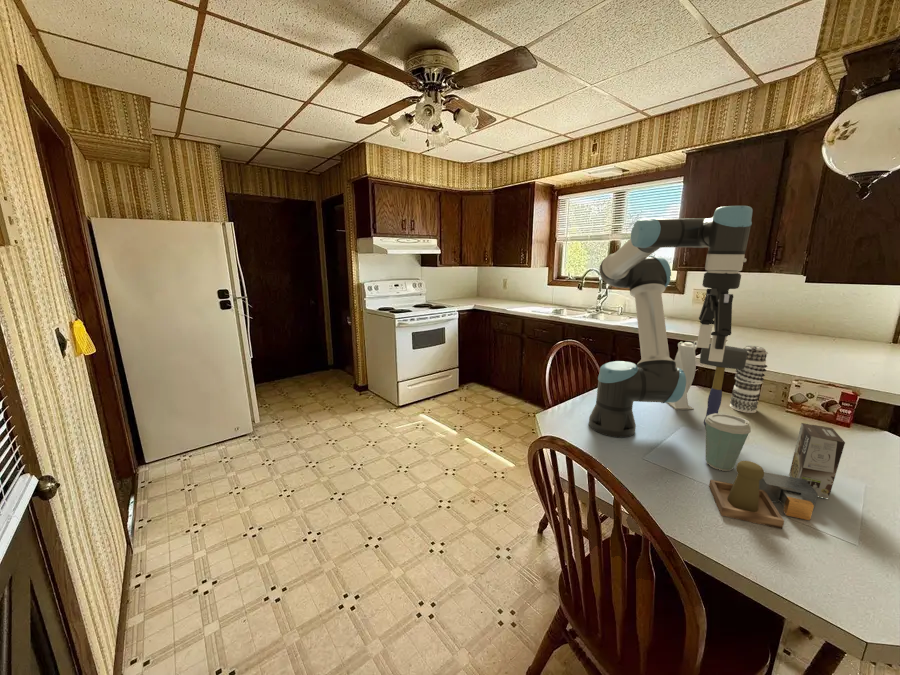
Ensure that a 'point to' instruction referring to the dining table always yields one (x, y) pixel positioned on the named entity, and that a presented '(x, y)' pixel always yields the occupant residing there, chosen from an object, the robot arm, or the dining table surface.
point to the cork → (746, 486)
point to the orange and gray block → (795, 505)
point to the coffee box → (817, 457)
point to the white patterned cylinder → (749, 380)
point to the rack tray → (763, 516)
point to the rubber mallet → (721, 373)
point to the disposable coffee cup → (725, 439)
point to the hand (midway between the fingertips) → (708, 354)
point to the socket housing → (786, 487)
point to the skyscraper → (685, 371)
